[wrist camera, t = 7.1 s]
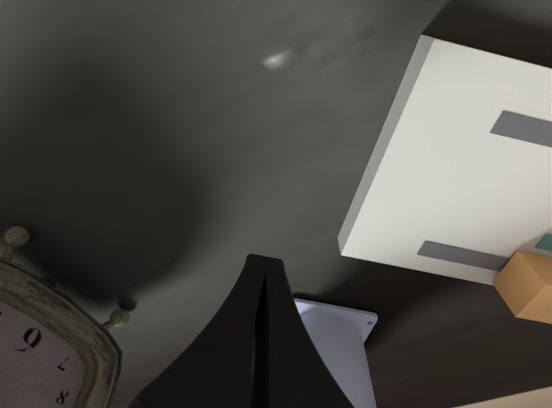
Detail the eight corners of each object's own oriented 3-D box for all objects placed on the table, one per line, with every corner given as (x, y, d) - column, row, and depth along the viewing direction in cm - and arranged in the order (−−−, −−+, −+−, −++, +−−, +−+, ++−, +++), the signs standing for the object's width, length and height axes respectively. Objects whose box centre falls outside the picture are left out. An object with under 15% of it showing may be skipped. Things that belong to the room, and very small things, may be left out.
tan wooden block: (542, 292, 24) (572, 327, 21) (491, 282, 24) (515, 316, 21) (571, 262, 22) (607, 296, 20) (517, 250, 22) (546, 284, 19)
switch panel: (577, 286, 26) (597, 307, 25) (337, 237, 25) (341, 256, 23) (747, 119, 19) (794, 132, 17) (420, 34, 17) (435, 38, 16)
